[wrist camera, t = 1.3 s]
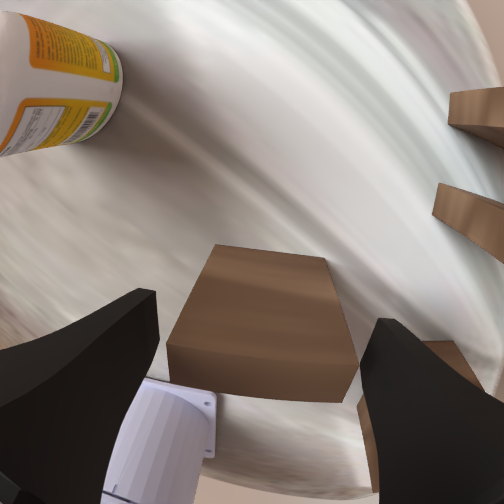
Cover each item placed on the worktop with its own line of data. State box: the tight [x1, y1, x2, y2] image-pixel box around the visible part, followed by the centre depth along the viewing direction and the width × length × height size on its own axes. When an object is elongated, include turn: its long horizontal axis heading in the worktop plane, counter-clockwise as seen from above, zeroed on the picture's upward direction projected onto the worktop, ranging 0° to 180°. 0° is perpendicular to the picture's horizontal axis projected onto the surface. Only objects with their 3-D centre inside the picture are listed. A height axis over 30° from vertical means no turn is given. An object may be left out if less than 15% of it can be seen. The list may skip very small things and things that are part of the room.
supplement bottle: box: [0, 11, 123, 157], centre depth 6 cm, size 5×5×10 cm
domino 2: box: [357, 394, 379, 493], centre depth 14 cm, size 2×5×7 cm, turn 84°
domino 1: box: [166, 244, 359, 403], centre depth 11 cm, size 2×5×7 cm, turn 84°
